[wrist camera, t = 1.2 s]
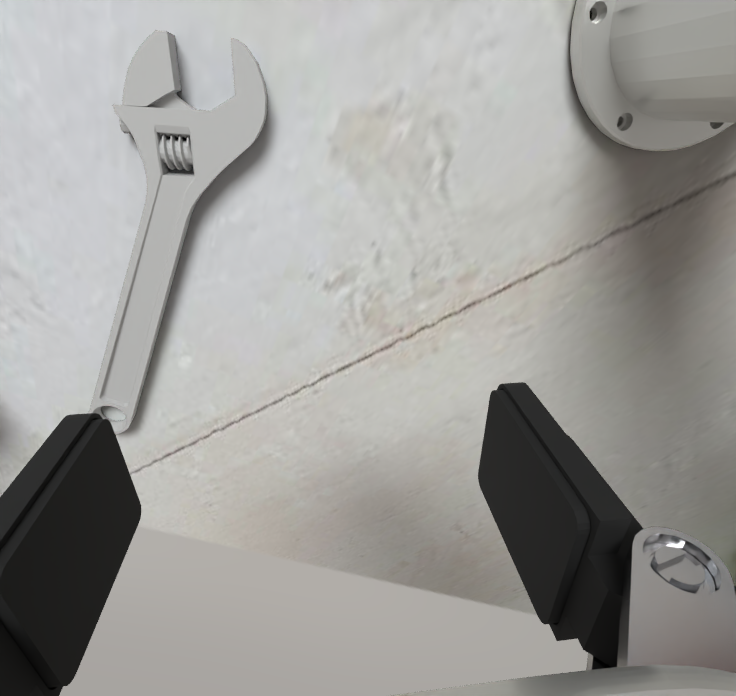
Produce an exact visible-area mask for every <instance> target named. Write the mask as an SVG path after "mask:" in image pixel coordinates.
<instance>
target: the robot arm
mask: <svg viewBox="0 0 736 696" xmlns="http://www.w3.org/2000/svg"><path fill="white" fill-rule="evenodd" d="M590 10H591V12H592V18H591V20H590ZM570 55H571V65H572V76H573V80H574V83H575V87H576V90H577V94H578V97H579V100H580V102H581V104H582V106H583V108H584V110H585V112H586V113H587V115H588V117H589V119H590V120H591V121H592V122H593V123H594V124H595V125H596V127H597V128H598V129H599V130H600V131H601V132H602V133H603V134H605V135H606V136H608V137H609V138H611V139H612V140H614V141H615V142H617V143H619V144H622V145H625V146H628V147H631V148H633V149H642V150H648V151H673V150H677V149H681V148H685V147H690V146H693V145H695V144H698V143H700V142H702V141H705V140H707V139H709V138H712V137H714V136H715V135H717V134H718V133H720V132H722V131H723V130H725V129H726V128H728V127H729V126H731V125H733V124H734V123H736V0H577V1H576V6H575V10H574V15H573V20H572V29H571V45H570ZM617 121H618V123H617ZM478 479H479V485H480V488H481V490H482V493H483V495H484V497H485V499H486V501H487V504H488V506H489V508H490V510H491V513H492V515H493V517H494V519H495V522H496V524H497V526H498V528H499V530H500V533H501V535H502V537H503V539H504V542H505V544H506V546H507V548H508V551H509V553H510V555H511V557H512V559H513V562H514V564H515V566H516V568H517V571H518V573H519V575H520V577H521V580H522V582H523V584H524V586H525V588H526V591H527V593H528V595H529V597H530V600H531V602H532V604H533V606H534V609H535V611H536V613H537V615H538V617H539V619H540V620H541V622H542V623H544V624H549V625H550V627H551V629H552V631H553V633H554V635H555V638H556V640H557V641H560V640H568V639H575V638H578V640H579V642H580V644H581V646H582V648H583V650H585V651H587V652H588V659H587V668H586V671H578V672H569V673H560V674H552V675H543V676H535V677H526V678H518V679H511V680H503V681H496V682H489V683H482V684H474V685H466V686H459V687H451V688H444V689H436V690H429V691H421V692H414V693H407V694H399V695H393V696H736V587H735V586H734V583H733V580H732V577H731V575H730V572H729V570H728V568H727V567H726V566H725V564H724V563H723V561H722V560H721V559H720V558H719V557H718V556H717V555H716V554H715V553H714V552H713V551H712V550H711V549H710V548H709V547H707V546H706V545H704V544H703V543H701V542H700V541H698V540H697V539H695V538H694V537H691V536H689V535H687V534H685V533H683V532H680V531H678V530H674V529H670V528H666V527H649V528H646V529H643V528H642V527H641V525H640V524H639V523H638V522H637V520H636V519H635V518H634V516H633V515H632V514H631V513H630V511H629V510H628V509H627V508H626V506H625V505H624V504H623V503H622V501H621V500H620V499H619V498H618V496H617V495H616V494H615V493H614V491H613V490H612V489H611V487H610V486H609V485H608V484H607V482H606V481H605V480H604V479H603V477H602V476H601V475H600V474H599V472H598V471H597V470H596V469H595V467H594V466H593V465H592V464H591V462H590V461H589V460H588V458H587V457H586V456H585V455H584V453H583V452H582V451H581V450H580V448H579V447H578V446H577V445H576V443H575V442H574V441H573V440H572V439H571V438H570V437H569V436H567V435H566V434H565V432H564V431H563V430H562V428H561V427H560V426H559V425H558V423H557V422H556V421H555V420H554V418H553V417H552V416H551V414H550V413H549V412H548V411H547V409H546V408H545V407H544V406H543V404H542V403H541V402H540V400H539V399H538V398H537V397H536V395H535V394H534V393H533V392H532V390H531V389H530V388H529V386H528V385H527V384H526V383H523V382H522V383H508V384H500V385H499V386H498V389H497V390H494V391H492V392H491V395H490V401H489V407H488V413H487V420H486V426H485V433H484V439H483V446H482V452H481V459H480V465H479V472H478ZM140 517H141V504H140V501H139V498H138V496H137V493H136V490H135V487H134V485H133V482H132V479H131V476H130V474H129V471H128V468H127V465H126V463H125V460H124V457H123V455H122V452H121V449H120V446H119V444H118V441H117V438H116V435H115V433H114V430H113V427H112V424H111V422H110V421H109V420H108V419H103V418H102V416H101V415H99V414H97V413H89V414H75V415H68V416H66V417H65V418H64V419H63V420H62V421H61V422H60V423H59V425H58V426H57V427H56V428H55V430H54V431H53V432H52V433H51V435H50V436H49V437H48V438H47V440H46V441H45V442H44V443H43V445H42V446H41V447H40V448H39V450H38V451H37V452H36V453H35V455H34V456H33V457H32V458H31V460H30V461H29V462H28V463H27V465H26V466H25V467H24V468H23V470H22V471H21V472H20V473H19V475H18V476H17V477H16V478H15V480H14V481H13V482H12V483H11V485H10V486H9V487H8V488H7V490H6V491H5V492H4V493H3V495H2V496H1V497H0V696H59V694H60V692H61V689H62V687H63V686H67V685H68V684H70V683H71V681H72V680H73V678H74V676H75V674H76V672H77V670H78V668H79V665H80V662H81V660H82V658H83V656H84V653H85V651H86V648H87V646H88V644H89V641H90V639H91V636H92V634H93V631H94V629H95V627H96V624H97V622H98V620H99V617H100V615H101V612H102V610H103V607H104V605H105V603H106V600H107V598H108V595H109V593H110V591H111V588H112V586H113V583H114V581H115V579H116V576H117V574H118V571H119V569H120V567H121V564H122V562H123V559H124V557H125V555H126V552H127V550H128V547H129V545H130V543H131V540H132V538H133V535H134V533H135V531H136V528H137V526H138V523H139V521H140Z"/></svg>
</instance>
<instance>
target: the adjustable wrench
mask: <svg viewBox="0 0 736 696" xmlns="http://www.w3.org/2000/svg"><path fill="white" fill-rule="evenodd" d="M231 49H232V62H233V75H234V88H235V96H233V97H232V98H230V99H228V100H227V101H225V102H224V103H222V104H220V105H219V106H217V107H216V108H214V109H212V110H211V111H206V110H197V109H195V108H193V107H192V106H190V105H189V104H187V103H186V102H185V101H183V100H182V99H181V98H180V97H178V96H177V92H179V91H181V84H180V76H179V68H178V60H177V52H176V44H175V36H174V35H173V34H171V33H169V32H167V31H158V30H155V31H154V32H153V33H152V34H151V35H150V36H149V37H147V38H146V40H145V41H144V42H143V43H142V44H141V46H140V47H139V48H138V50H137V51H136V53H135V55H134V56H133V58H132V60H131V63H130V65H129V68H128V71H127V75H126V80H125V85H124V91H123V99H122V103H123V105H112V106H113V108H114V111H115V113H116V114H117V115H118V117H119V121H120V127H121V130H122V131H123V132H124V133H131V134H132V136H133V138H134V140H135V142H136V145H137V148H138V150H139V153H140V155H141V158H142V161H143V163H144V167H145V172H146V177H147V193H146V201H145V206H144V210H143V213H142V217H141V221H140V225H139V228H138V232H137V236H136V239H135V243H134V247H133V250H132V254H131V258H130V262H129V265H128V269H127V273H126V276H125V280H124V284H123V288H122V291H121V295H120V299H119V302H118V306H117V310H116V314H115V317H114V321H113V325H112V328H111V332H110V336H109V339H108V343H107V347H106V351H105V354H104V358H103V362H102V365H101V369H100V373H99V377H98V380H97V384H96V388H95V391H94V395H93V399H92V403H91V406H90V410H89V413H97V414H99V415H101V416H102V418H103V419H108V420H109V421H110V422H111V424H112V427H113V430H114V433H115V434H119V433H121V432H124V431H125V430H127V429H128V427H129V426H130V424H131V422H132V420H133V419H134V417H135V415H136V411H137V407H138V404H139V400H140V397H141V393H142V390H143V386H144V382H145V379H146V375H147V372H148V368H149V365H150V361H151V357H152V354H153V350H154V347H155V343H156V340H157V336H158V332H159V329H160V325H161V322H162V318H163V314H164V311H165V307H166V304H167V300H168V297H169V293H170V289H171V286H172V282H173V279H174V275H175V272H176V268H177V264H178V261H179V257H180V254H181V250H182V247H183V243H184V239H185V236H186V232H187V229H188V225H189V222H190V218H191V215H192V212H193V210H194V207H195V205H196V203H197V201H198V200H199V198H200V197H201V195H202V194H203V192H204V191H205V190H206V189H207V188H208V187H209V185H210V184H211V183H212V182H213V181H214V180H215V178H216V177H217V176H218V175H219V174H220V173H221V172H222V171H223V170H224V169H225V168H226V167H227V166H228V165H229V164H230V163H231V162H233V161H234V160H235V159H236V158H237V157H238V156H239V155H241V154H242V153H243V152H244V151H245V150H246V149H248V148H249V147H250V146H251V145H252V144H253V143H254V142H255V140H256V139H257V138H258V136H259V134H260V133H261V131H262V128H263V126H264V124H265V120H266V116H267V102H268V96H267V90H266V84H265V81H264V78H263V75H262V72H261V70H260V67H259V64H258V62H257V61H256V59H255V58H254V56H253V55H252V53H251V52H250V50H249V49H248V48H247V46H246V45H245V44H243V43H242V42H241V41H239V40H238V39H234V38H231ZM168 137H170V139H169V138H168ZM176 137H179V139H178V140H177V139H176ZM184 138H187V141H185V140H184ZM192 165H193V169H194V174H192V173H170V172H169V170H168V168H170V169H171V170H174V169H175V168H177V169H178V170H183V168H185V170H186V171H190V170H191V168H192ZM102 406H112V407H115V408H118V409H119V410H121V411H122V412H123V413H124V414H125V415H126V418H125V419H124V420H121V421H115V420H111V419H109V418H107V417H106V416H104V415H103V413H102V412H101V407H102Z"/></svg>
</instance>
